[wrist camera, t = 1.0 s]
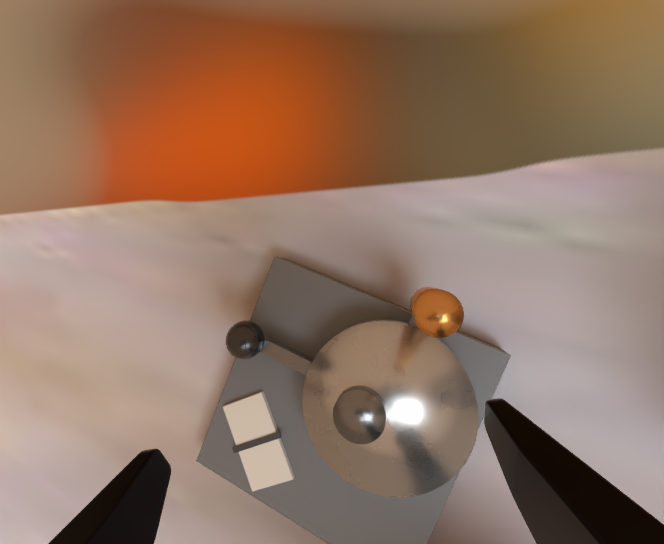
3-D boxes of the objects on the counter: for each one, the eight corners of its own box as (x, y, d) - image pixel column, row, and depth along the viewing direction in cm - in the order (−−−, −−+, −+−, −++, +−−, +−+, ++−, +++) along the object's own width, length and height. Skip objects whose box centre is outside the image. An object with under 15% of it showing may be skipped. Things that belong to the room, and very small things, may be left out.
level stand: (502, 349, 20) (513, 357, 18) (405, 569, 20) (406, 598, 19) (282, 258, 23) (272, 255, 21) (208, 449, 24) (192, 464, 22)
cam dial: (517, 321, 18) (577, 342, 12) (433, 512, 18) (448, 626, 12) (280, 227, 21) (231, 206, 15) (217, 392, 22) (146, 436, 16)
